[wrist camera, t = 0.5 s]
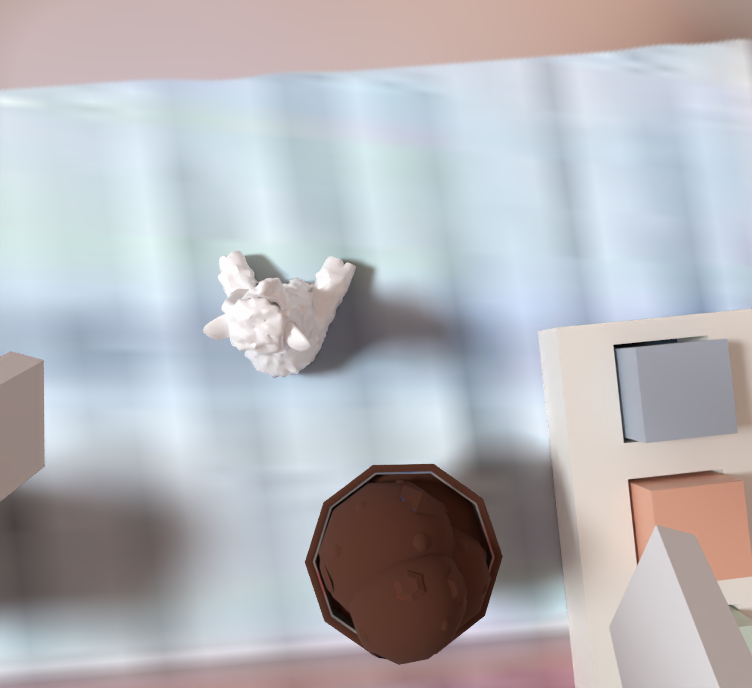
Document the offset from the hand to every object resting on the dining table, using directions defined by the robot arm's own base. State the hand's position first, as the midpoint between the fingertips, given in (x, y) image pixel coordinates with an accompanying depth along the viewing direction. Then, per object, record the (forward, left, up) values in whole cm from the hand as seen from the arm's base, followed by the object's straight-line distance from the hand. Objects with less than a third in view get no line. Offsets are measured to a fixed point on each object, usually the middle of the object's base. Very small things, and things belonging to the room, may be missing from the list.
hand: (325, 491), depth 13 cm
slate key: (-1, -22, -30) cm, 37 cm away
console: (-10, -22, -32) cm, 40 cm away
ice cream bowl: (-9, -3, -32) cm, 33 cm away
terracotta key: (-10, -22, -30) cm, 38 cm away
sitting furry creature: (+6, +3, -32) cm, 33 cm away
